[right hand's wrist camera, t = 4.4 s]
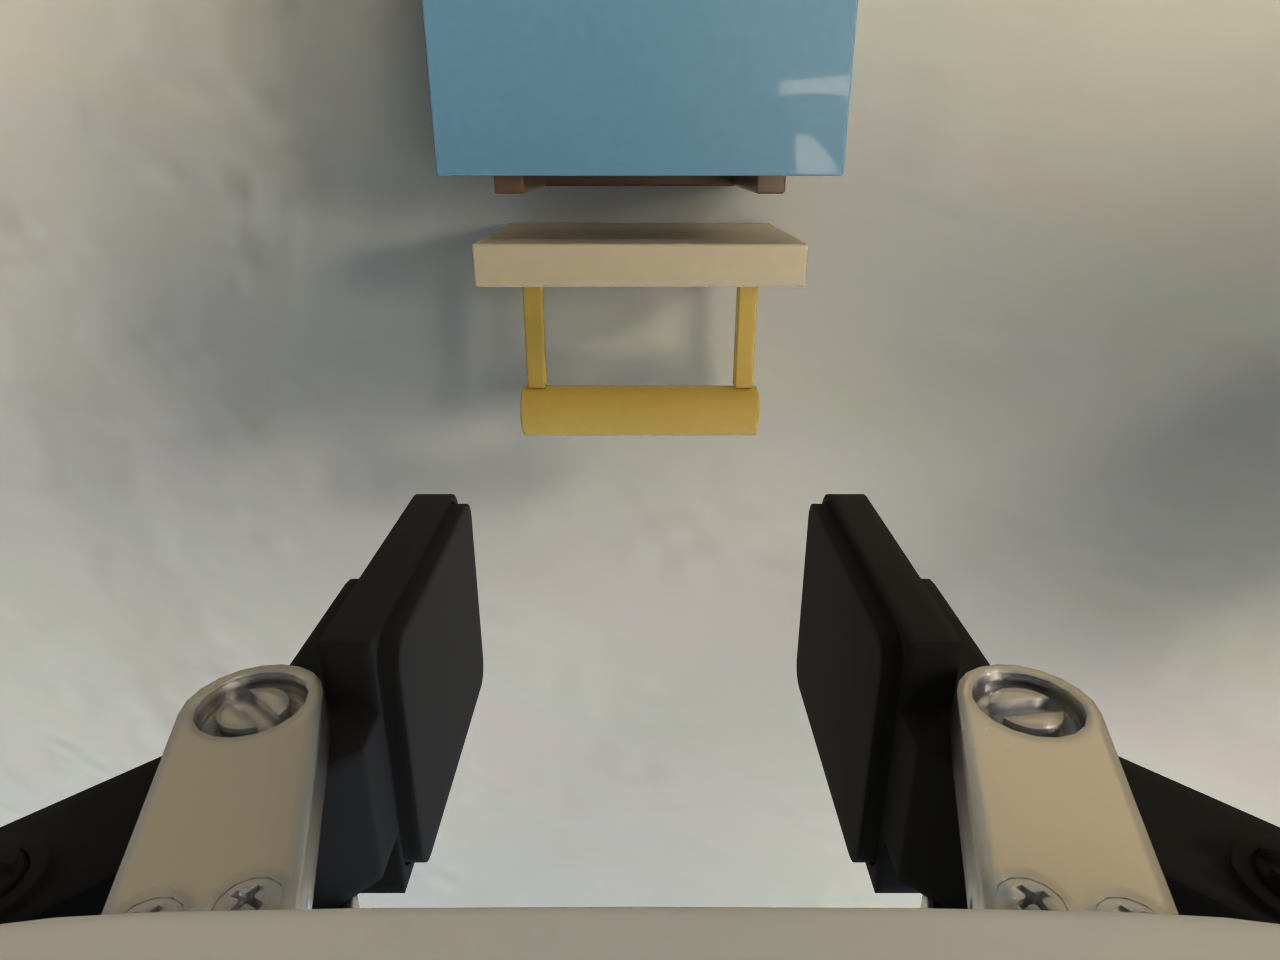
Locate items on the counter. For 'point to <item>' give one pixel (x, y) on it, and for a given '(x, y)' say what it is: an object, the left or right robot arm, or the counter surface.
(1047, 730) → the right robot arm
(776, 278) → the drawer
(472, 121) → the cabinet
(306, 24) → the counter surface
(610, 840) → the counter surface
